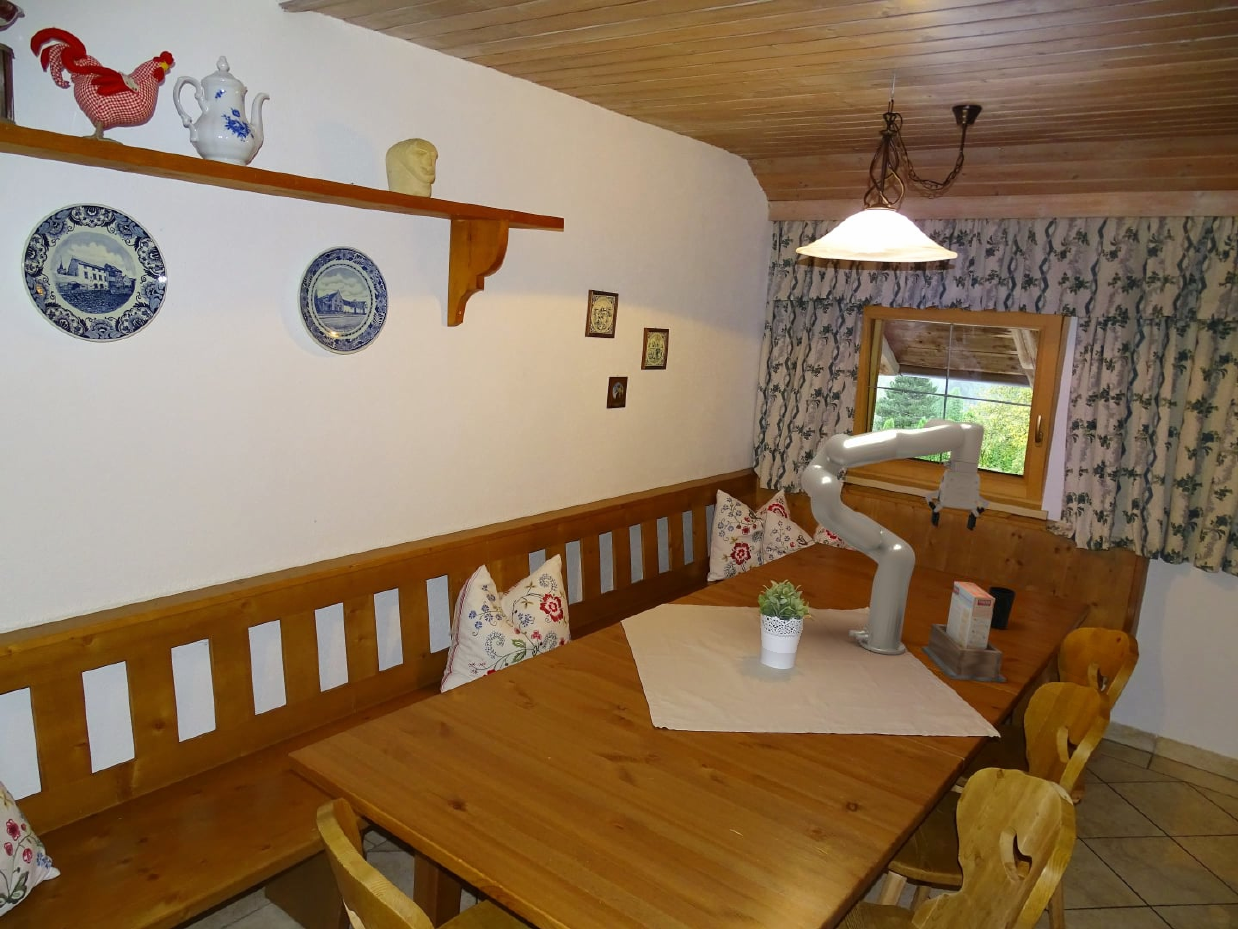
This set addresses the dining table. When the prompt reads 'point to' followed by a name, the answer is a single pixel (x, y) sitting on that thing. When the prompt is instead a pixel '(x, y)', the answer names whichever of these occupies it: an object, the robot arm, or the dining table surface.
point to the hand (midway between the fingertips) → (952, 527)
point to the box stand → (963, 658)
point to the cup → (1001, 606)
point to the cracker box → (970, 616)
